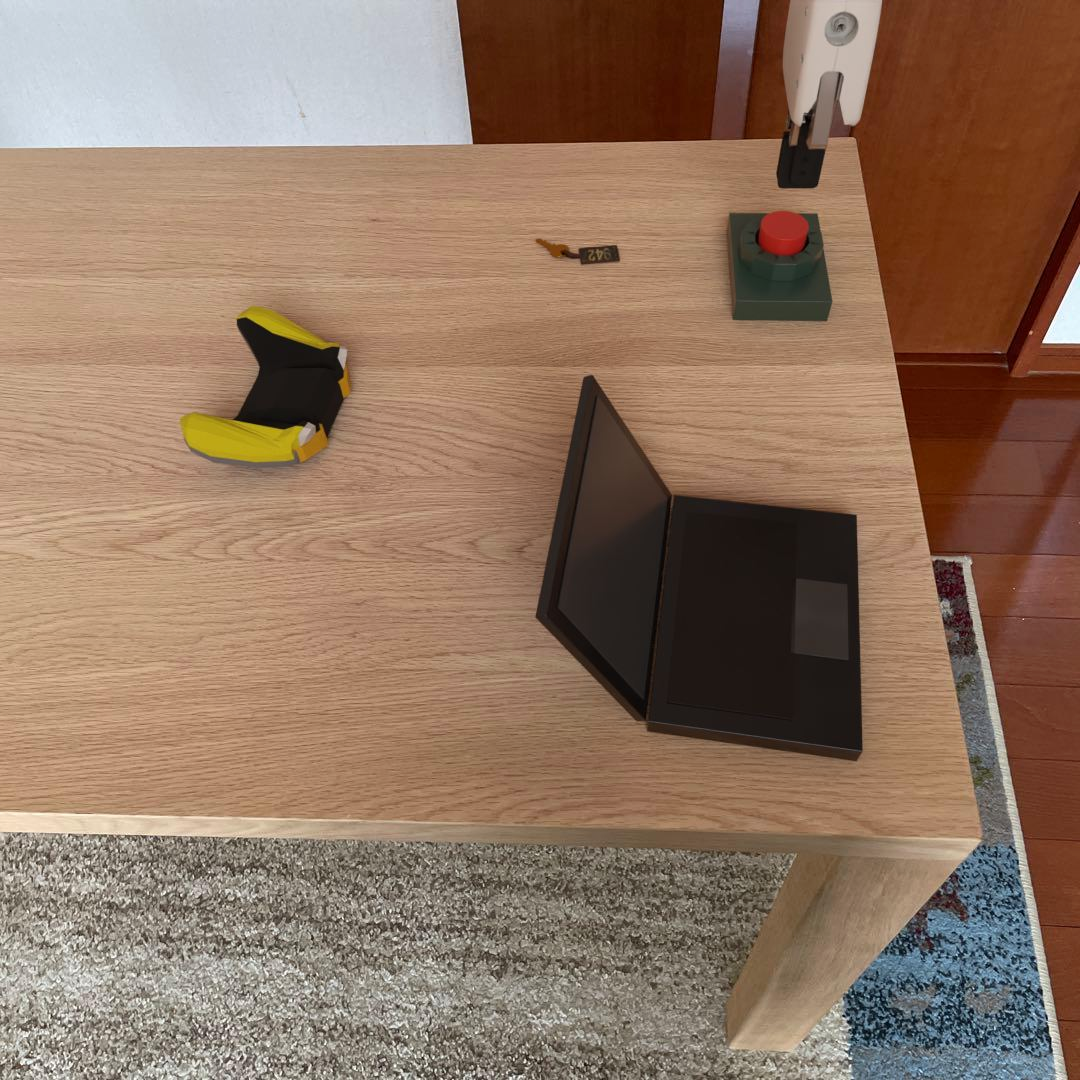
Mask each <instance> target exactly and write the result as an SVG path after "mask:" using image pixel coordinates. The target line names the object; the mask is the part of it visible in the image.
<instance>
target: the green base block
mask: <svg viewBox="0 0 1080 1080" xmlns="http://www.w3.org/2000/svg"><path fill="white" fill-rule="evenodd" d="M769 213H770V212H729V213H728V217H727V218H728V219H727V226H726V245H727V258H728V260H727V261H728V270H729V284H730V295H731V296H730V299H731V308H732V310H731V311H732V312H731V313H732V320H733V321H762V322H763V321H764V322H765V321H767V322H768V321H773V322H774V321H775V322H828V319H829V316H830V313H831V309H832V305H833V297H832V291H831V284H830V279H829V273H828V267H827V261H826V254H825V249H824V248H825V247H824V246H825V245H824V240H823V233H822V231H821V225H820V221H819V220H820V218H819V214H818V212H817V213H815V212H812V213H811V212H809V213H807V212H805V213H800V212H799V213H797V212H796V213H797V214H799V215H801V216H802V217H804V218H805V219H806V221H807V223H808V226H809V229H808V233H807V238H806V242H805V246H804V248H803V249H802V250H801V251H800V252H799V253H797V254H794V255H775V254H772V253H769V252H767V251H764V250H763V249H762V248H761V247H760V246H759V243H758V237H759V231H760V226H761V221H762V219H763V218H764V217H765V216H766V215H768V214H769Z"/></svg>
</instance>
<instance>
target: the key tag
mask: <svg viewBox="0 0 1080 1080" xmlns="http://www.w3.org/2000/svg"><path fill="white" fill-rule="evenodd" d="M535 244H538V245H540V246H542V247H544V248H546V249H547V251H549V253H550V256H551V257H554V258H564V257H565V258H568V259H572V260H577V259H579V260H580V265H591V264H603V263H604V264H605V263H615V262H621V261H620V260H621V259H620V253H619V248H618V245H617V244H614V245H600V246H587V247H580V248H578V253H574V252H571V251H570V247H569V246H568V245H567V244H562V243H559V244H556V243H552V244H551V242H547V240H543V239H542V238H535Z"/></svg>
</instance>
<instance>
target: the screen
mask: <svg viewBox="0 0 1080 1080" xmlns="http://www.w3.org/2000/svg"><path fill="white" fill-rule="evenodd" d="M560 486H561V487H560V492H559V495H558V502H557V506H556V510H555V511H556V512H555V517H554V521H553V527H552V531H551V537H550V541H549V547H548V551H547V558H546V560H545V561H546V562H545V566H544V572H543V577H542V582H541V586H540V590H539V591H540V592H539V597H538V601H537V607H536V611H535V616H534V617H535V619H536V620H537V621H538V622H539V623H540V624H541V625H542V626H543V627H544V628H545V629H546V630H547V631H548V632H549V634H551V635H552V637H554V639H556V640H557V642H559V644H560V645H561V646H562V647H563V648H564V649H565V650H566V651H567V652H568V653H569V654H570V655H571V656H572V657H573V658H574V659H575V660H576V661H577V662H578V663H579V664H580V665H581V666H582V667H583V668H584V669H585V670H586V671H587V673H588V674H590V675H591V677H593V679H594V680H595V681H596V682H598V683H599V685H600V686H601V687H602V688H603V689H604V690H605V691H606V692H607V693H608V694H609V695H610V696H611V697H612V698H613V699H614V700H615V701H616V702H617V704H619V705H620V706H621V708H623V709H624V711H626V713H627V714H628V715H630V717H632V718H633V720H634V721H636V722H637V723H639V722H646V721H647V719H648V718H647V717H648V710H649V709H648V708H649V701H650V700H649V699H650V693H651V691H650V690H651V684H652V683H651V682H652V675H653V666H654V665H653V664H654V658H655V657H654V656H655V649H656V640H657V632H658V630H657V629H658V623H659V622H658V621H659V614H660V606H661V605H660V604H661V603H660V602H661V597H662V596H661V595H662V588H663V580H664V571H665V569H664V568H665V562H666V554H667V552H666V551H667V545H668V536H669V528H670V519H671V510H672V502H673V494H672V492H671V491H670V489H669V488H668V486H667V485H666V483H665V482H664V480H663V478H662V477H661V476H660V474H659V473H658V470H656V468H655V467H654V465H653V464H652V462H651V461H650V459H649V458H648V456H647V455H646V453H645V452H644V450H643V449H642V447H641V446H640V444H639V443H638V441H637V439H636V438H635V436H634V435H633V433H632V432H631V431H630V429H629V428H628V426H627V425H626V423H625V422H624V420H623V418H622V416H621V415H620V414H619V412H618V411H617V409H616V408H615V406H614V404H613V403H612V402H611V401H610V399H609V397H608V395H607V394H606V393H605V391H604V390H603V388H602V387H601V385H600V384H599V382H598V380H597V379H596V378H595V376H594V375H593V374H589V375H586V376H583V378H582V382H581V388H580V393H579V398H578V402H577V408H576V412H575V417H574V423H573V428H572V431H571V437H570V441H569V447H568V453H567V456H566V462H565V466H564V473H563V477H562V481H561V485H560Z"/></svg>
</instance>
